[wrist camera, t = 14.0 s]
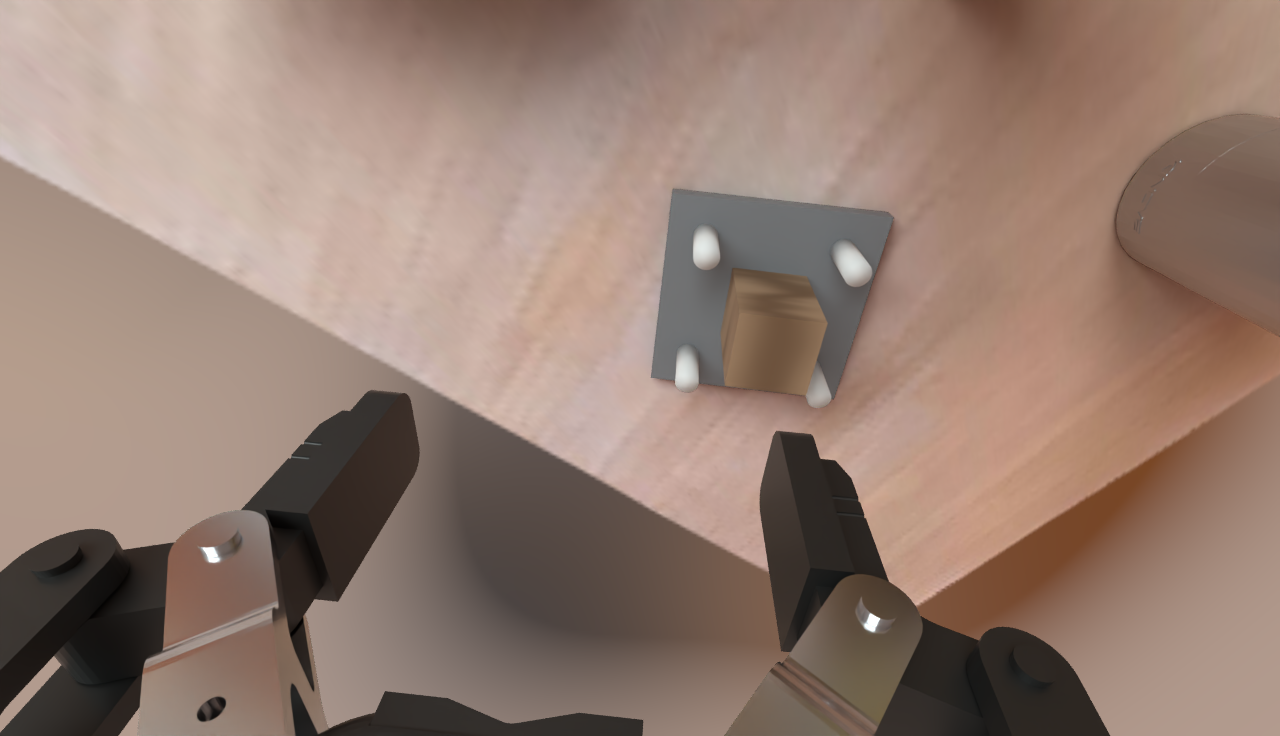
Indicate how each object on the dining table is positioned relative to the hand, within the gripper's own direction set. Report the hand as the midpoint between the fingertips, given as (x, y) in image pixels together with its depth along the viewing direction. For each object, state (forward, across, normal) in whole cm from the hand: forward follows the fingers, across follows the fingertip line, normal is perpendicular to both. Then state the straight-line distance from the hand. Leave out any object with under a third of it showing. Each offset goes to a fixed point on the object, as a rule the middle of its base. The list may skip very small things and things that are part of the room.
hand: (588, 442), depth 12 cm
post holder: (+28, -8, +8) cm, 30 cm away
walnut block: (+26, -8, +8) cm, 29 cm away
